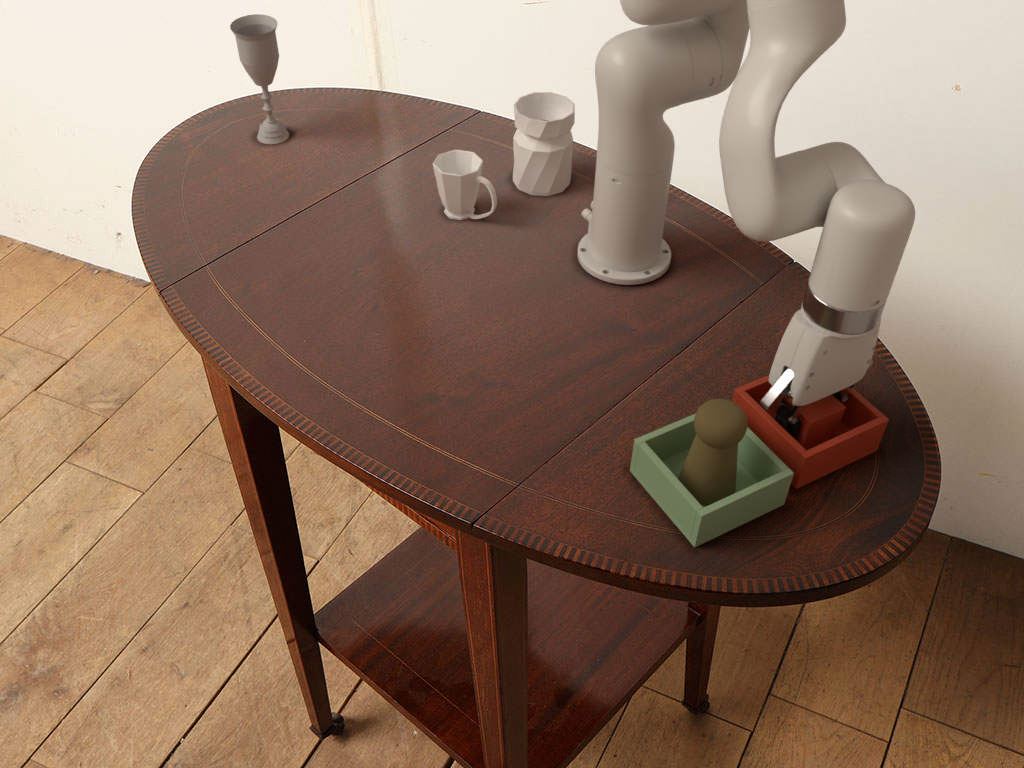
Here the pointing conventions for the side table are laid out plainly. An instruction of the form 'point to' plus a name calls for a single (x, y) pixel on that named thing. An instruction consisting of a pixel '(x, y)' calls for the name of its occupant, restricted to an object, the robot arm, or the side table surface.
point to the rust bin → (849, 445)
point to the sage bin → (658, 473)
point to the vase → (543, 143)
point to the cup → (461, 183)
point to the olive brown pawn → (714, 451)
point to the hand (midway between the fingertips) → (803, 429)
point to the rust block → (819, 421)
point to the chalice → (261, 66)
